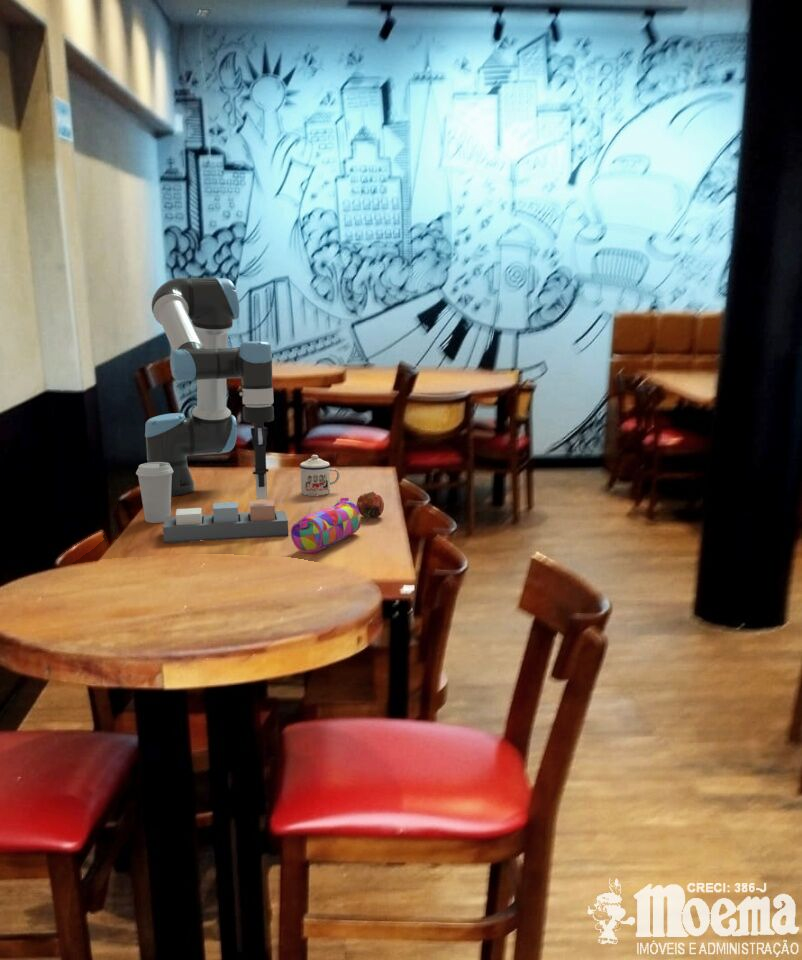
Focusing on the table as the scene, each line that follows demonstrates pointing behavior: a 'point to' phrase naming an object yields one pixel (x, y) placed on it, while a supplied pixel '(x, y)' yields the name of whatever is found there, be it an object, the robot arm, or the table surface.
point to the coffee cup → (155, 490)
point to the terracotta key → (262, 510)
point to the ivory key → (188, 516)
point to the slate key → (225, 512)
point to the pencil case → (326, 526)
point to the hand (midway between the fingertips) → (261, 498)
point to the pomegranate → (370, 505)
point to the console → (225, 529)
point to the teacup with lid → (316, 476)
